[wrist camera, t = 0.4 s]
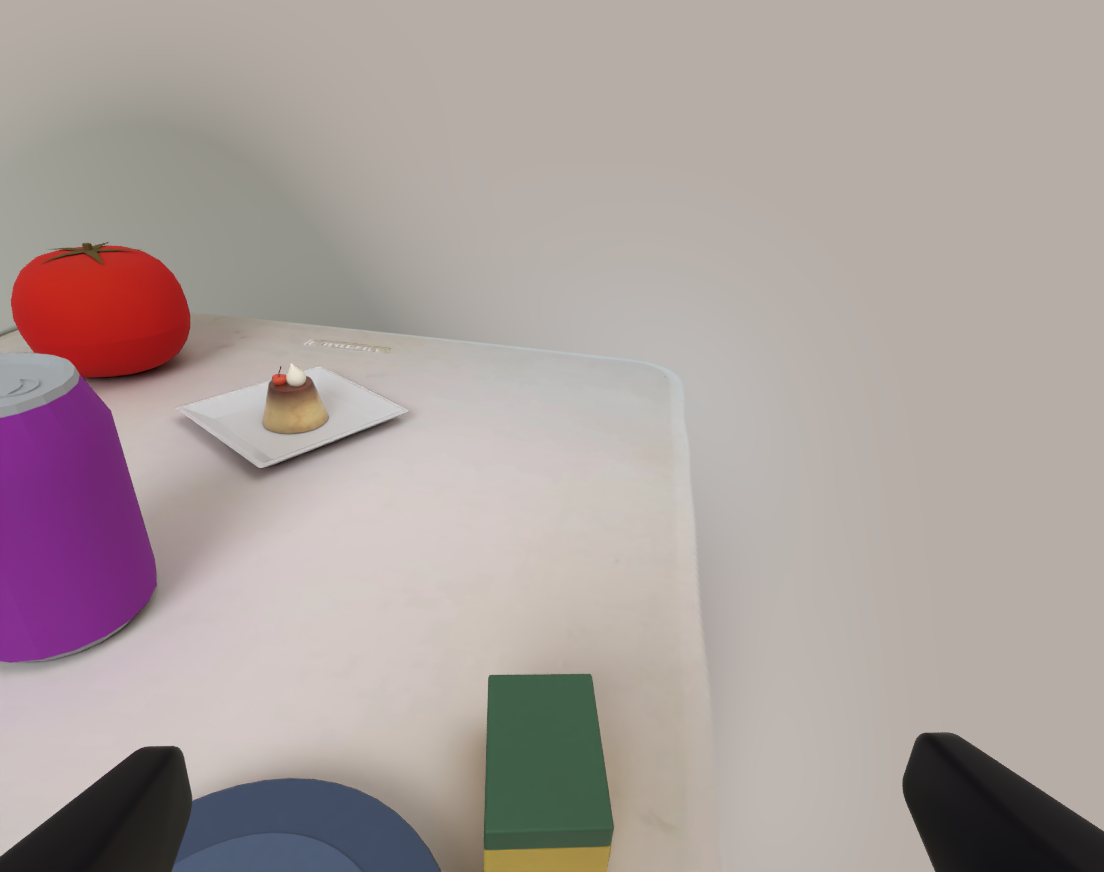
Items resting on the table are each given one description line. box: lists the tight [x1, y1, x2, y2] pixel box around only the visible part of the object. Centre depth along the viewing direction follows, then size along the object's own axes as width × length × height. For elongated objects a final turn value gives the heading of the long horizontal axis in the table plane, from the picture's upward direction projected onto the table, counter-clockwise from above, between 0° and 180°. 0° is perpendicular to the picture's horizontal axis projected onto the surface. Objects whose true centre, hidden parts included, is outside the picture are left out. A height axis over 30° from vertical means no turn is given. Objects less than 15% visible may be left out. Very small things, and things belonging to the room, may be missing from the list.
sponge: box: [483, 674, 614, 872], centre depth 23 cm, size 6×4×4 cm, turn 4°
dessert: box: [176, 364, 409, 468], centre depth 48 cm, size 12×12×5 cm
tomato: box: [11, 242, 190, 378], centre depth 53 cm, size 12×12×10 cm
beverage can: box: [0, 353, 157, 662], centre depth 28 cm, size 8×8×12 cm
